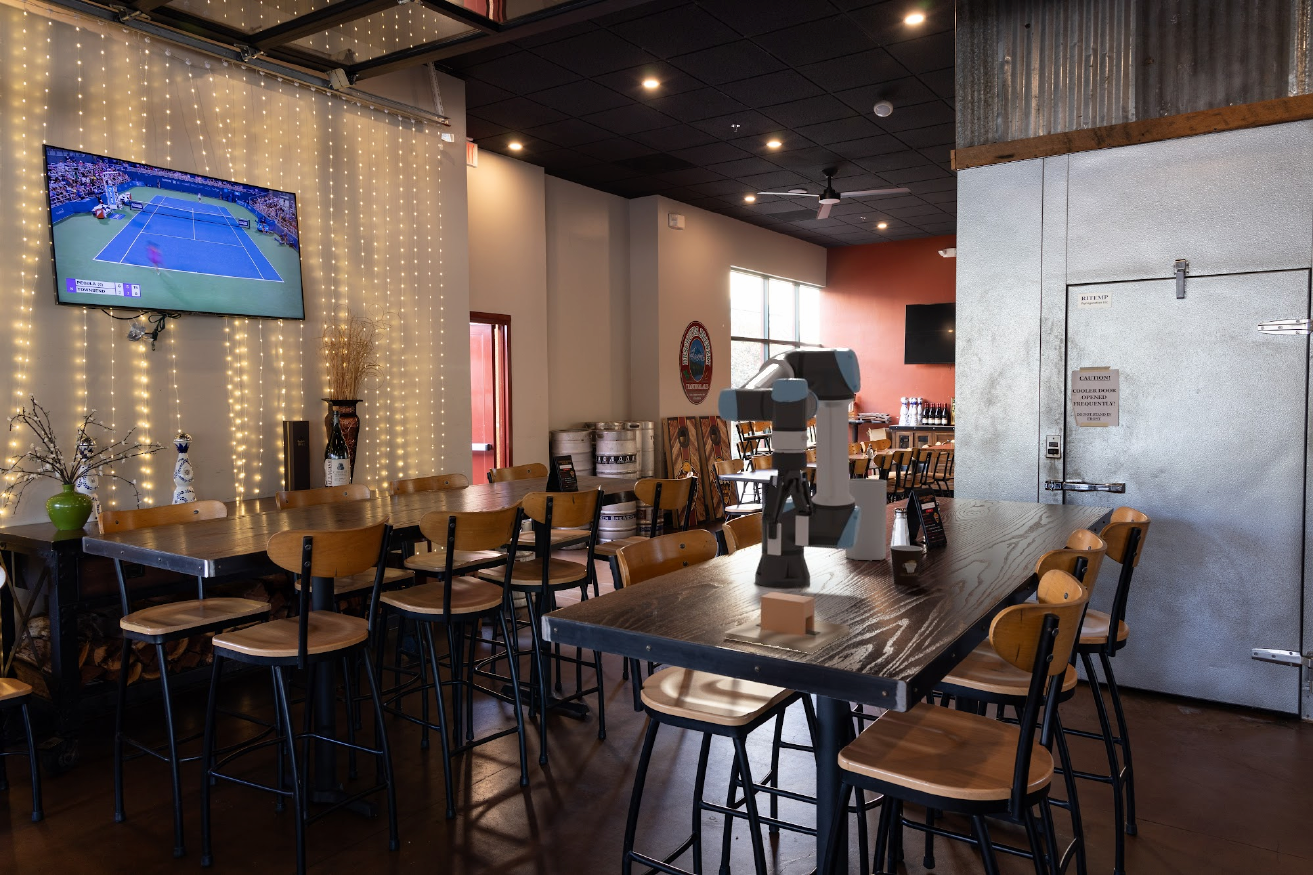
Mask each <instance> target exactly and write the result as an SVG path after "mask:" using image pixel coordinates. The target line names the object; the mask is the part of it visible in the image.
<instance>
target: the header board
mask: <svg viewBox="0 0 1313 875" xmlns="http://www.w3.org/2000/svg"><path fill="white" fill-rule="evenodd" d="M847 633H848V634H850V625H843V624H837V623H831V622H825V621H818V620H814V631H811V630H805V635H804V636H801V635H795V634H789V633H784V632H778V631H772V630H766V629H761V615H760V616H758V617H755V618H754V619H751V620H749V621H746V622H744V623H742V624H740V625H737V626H735V627H733V628H731V629H728V630H726V631H724V632H723V638H724V637H726V638H729V639H737V640H741V641H748V642H752V643H761V644H763V645H771V646H779V647H782V648H789V649H792V650H798V651H801V652H807V653H811V654H812V653H813V652H815V651H817V650H819V649H820V648H822V647H824V646H826V645H828V644H829V643H831V644H832V642H833V641H835V640H836V639H838V640H839V638H840V637H841V638H843V637H845V636H847V635H848V634H847ZM846 634H847V635H846ZM844 635H845V636H844ZM841 638H840V639H841ZM836 641H837V640H836ZM836 641H835V642H836ZM833 643H834V642H833ZM829 645H830V644H829ZM829 645H828V646H829ZM826 647H827V646H826ZM824 648H825V647H824ZM822 649H823V648H822ZM819 651H820V650H819ZM817 652H818V651H817ZM812 655H813V654H812Z"/></svg>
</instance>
